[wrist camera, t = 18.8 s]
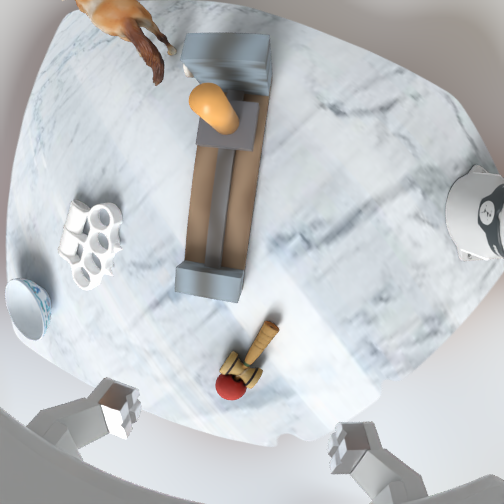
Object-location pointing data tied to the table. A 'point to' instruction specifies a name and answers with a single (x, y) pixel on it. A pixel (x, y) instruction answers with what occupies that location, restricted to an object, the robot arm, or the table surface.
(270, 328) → the kendama
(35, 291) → the chinaware
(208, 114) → the carriage
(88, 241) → the white brass knuckles
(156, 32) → the horse figurine
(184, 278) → the walnut rail
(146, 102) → the table surface
